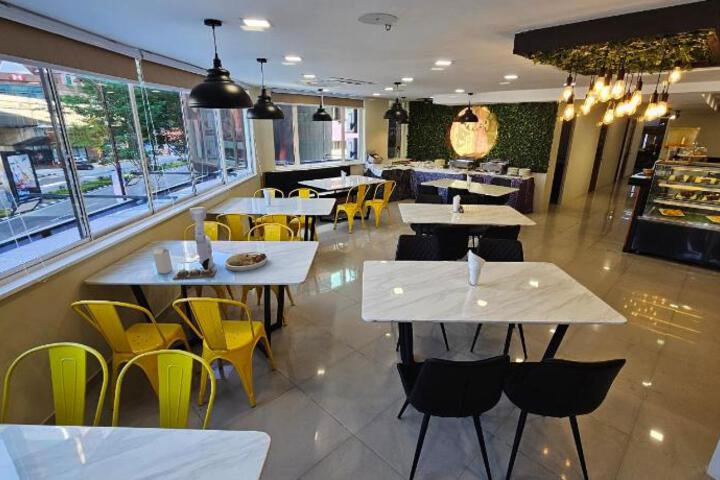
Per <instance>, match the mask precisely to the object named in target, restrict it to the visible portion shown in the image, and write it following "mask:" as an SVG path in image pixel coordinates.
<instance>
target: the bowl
mask: <svg viewBox="0 0 720 480" xmlns="http://www.w3.org/2000/svg"><path fill="white" fill-rule="evenodd" d="M267 260H268V256H267V254H266V253H264V252H258V251H249V252H248V251H246V252H242V253H236V254H234V255H231V256H229V257H227V258H226V259H225V260H224V266H225V267H226V269H228V270H230V271H233V272H250V271H253V270H258V269H260V268H262V267H263V266H264V265H265V264H266V263H267Z"/></svg>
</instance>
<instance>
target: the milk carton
mask: <svg viewBox="0 0 720 480" xmlns="http://www.w3.org/2000/svg"><path fill="white" fill-rule="evenodd" d="M152 256H153V261H154V264H155V268H156V272H157V274H168V273H170V272H172V271H173V265H172V259H171V255H170V250H168V249H167V248H165V246H155V248H154V250H153V252H152Z"/></svg>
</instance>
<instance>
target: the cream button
mask: <svg viewBox="0 0 720 480" xmlns="http://www.w3.org/2000/svg"><path fill="white" fill-rule="evenodd" d="M197 270H198V268H197V267H191V269H190V271H192V273H196V272H197Z"/></svg>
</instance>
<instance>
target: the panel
mask: <svg viewBox="0 0 720 480" xmlns="http://www.w3.org/2000/svg"><path fill="white" fill-rule="evenodd" d="M208 269H209V272H204V268H202V269H197V272H196V273H192V271H191V270H187V269H185V273H181V274H180V272H179V271H178V272H177V273H176V275H175V276H174V277H173V279H172V280H174V281H175V280H176V281H177V280H179V281H180V280H190V279H191V280H192V279H203V278H204V279H205V278H214V276H215V274H216V273H217V272H218V269H217V268H216V269H212V268H208Z"/></svg>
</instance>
